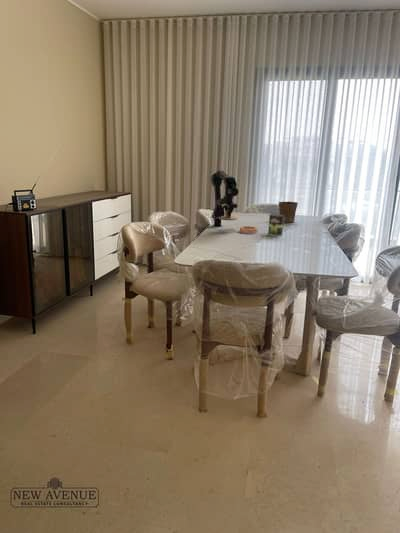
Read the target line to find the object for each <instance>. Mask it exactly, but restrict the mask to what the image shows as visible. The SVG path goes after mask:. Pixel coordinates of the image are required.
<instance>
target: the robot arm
mask: <svg viewBox="0 0 400 533" xmlns="http://www.w3.org/2000/svg"><path fill="white" fill-rule="evenodd" d="M210 182H211V185H212V187H213V190H214V191H213V192H214V193H213V194H214V203H215V204H214V208H213V212H212V214H211V219H213V224H212V227H215V228H219V227H223V225H222V220H221V219H219V217H221V216H225V211H228V217H230V215H231V216H232V213H233V211H234V209H237V208H238V204H237V203H234V200H233V198H235V197H236V196H238V195H239V189H238V188H237V187H238V186H237V181H236V178H235V177H234V176H232V175H228V174H227V173H226V172H225V171H224V170H217V171H216V172H214V173H212V175H211V177H210ZM222 184H224V195H223V197H222V196H221V192H222V191H221V185H222Z"/></svg>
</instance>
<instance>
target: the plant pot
mask: <svg viewBox="0 0 400 533" xmlns="http://www.w3.org/2000/svg"><path fill="white" fill-rule="evenodd" d="M298 205H299V203H298V202H297V201H278V208H279V209H278V210H279V213H278V214H281V215H284V222H283V224H285V223H286V224H287V223H288V224H289V223H290V224H291V223H294V222H295V218H296V211H297V208H298Z"/></svg>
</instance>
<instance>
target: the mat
mask: <svg viewBox="0 0 400 533" xmlns="http://www.w3.org/2000/svg"><path fill="white" fill-rule="evenodd" d="M214 230H215V231H217V232H219V233H221V234H234V233H235V234H236V233H239V231H238V230H236V229H234V228H221V229H220V228H219V229H218V228H217V229H214Z"/></svg>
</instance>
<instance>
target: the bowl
mask: <svg viewBox="0 0 400 533" xmlns="http://www.w3.org/2000/svg"><path fill="white" fill-rule="evenodd" d="M258 228H259V227H256V226H253V225H242V226H241V227H239V233H242V234H249V235H251V234H257V233H258V231H259V230H258Z"/></svg>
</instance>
